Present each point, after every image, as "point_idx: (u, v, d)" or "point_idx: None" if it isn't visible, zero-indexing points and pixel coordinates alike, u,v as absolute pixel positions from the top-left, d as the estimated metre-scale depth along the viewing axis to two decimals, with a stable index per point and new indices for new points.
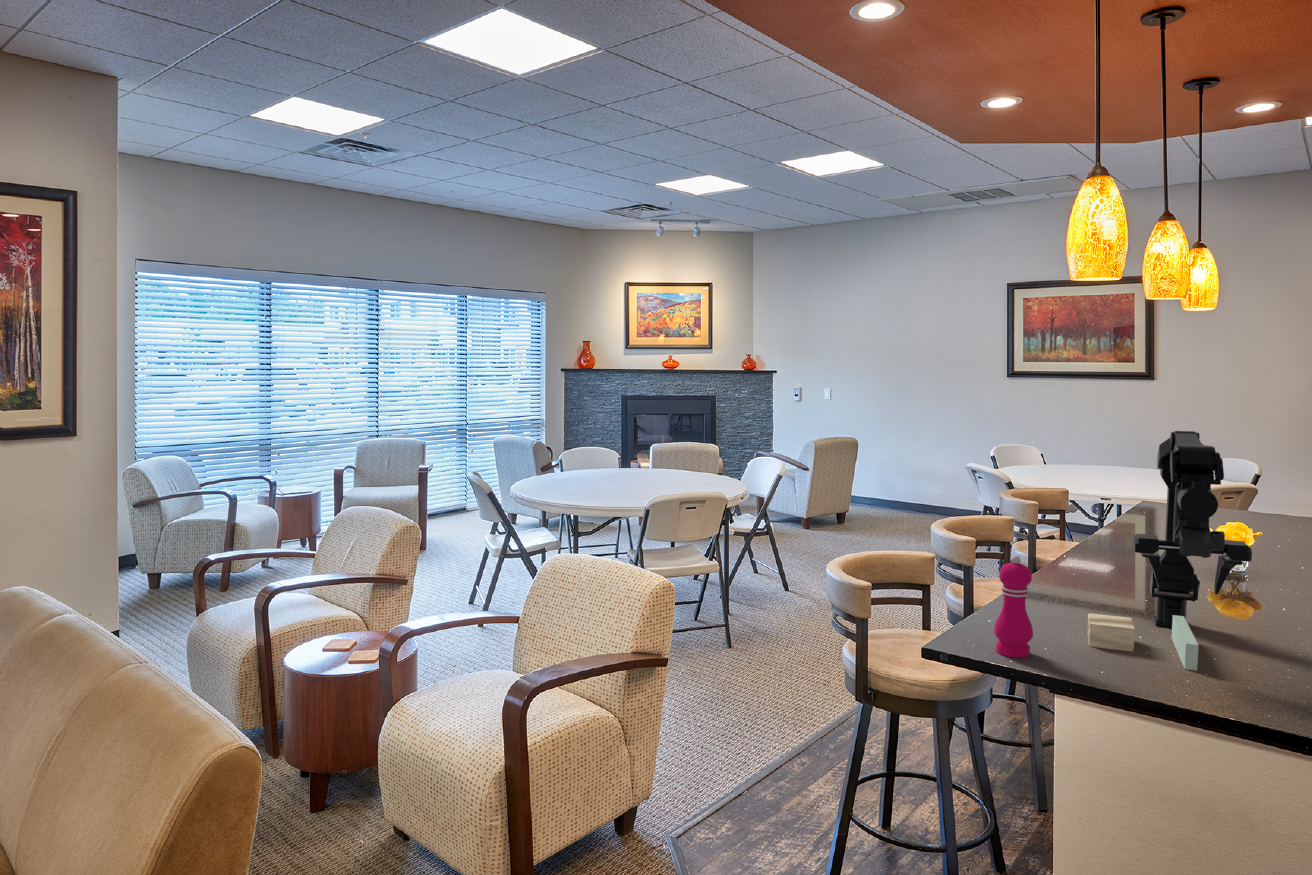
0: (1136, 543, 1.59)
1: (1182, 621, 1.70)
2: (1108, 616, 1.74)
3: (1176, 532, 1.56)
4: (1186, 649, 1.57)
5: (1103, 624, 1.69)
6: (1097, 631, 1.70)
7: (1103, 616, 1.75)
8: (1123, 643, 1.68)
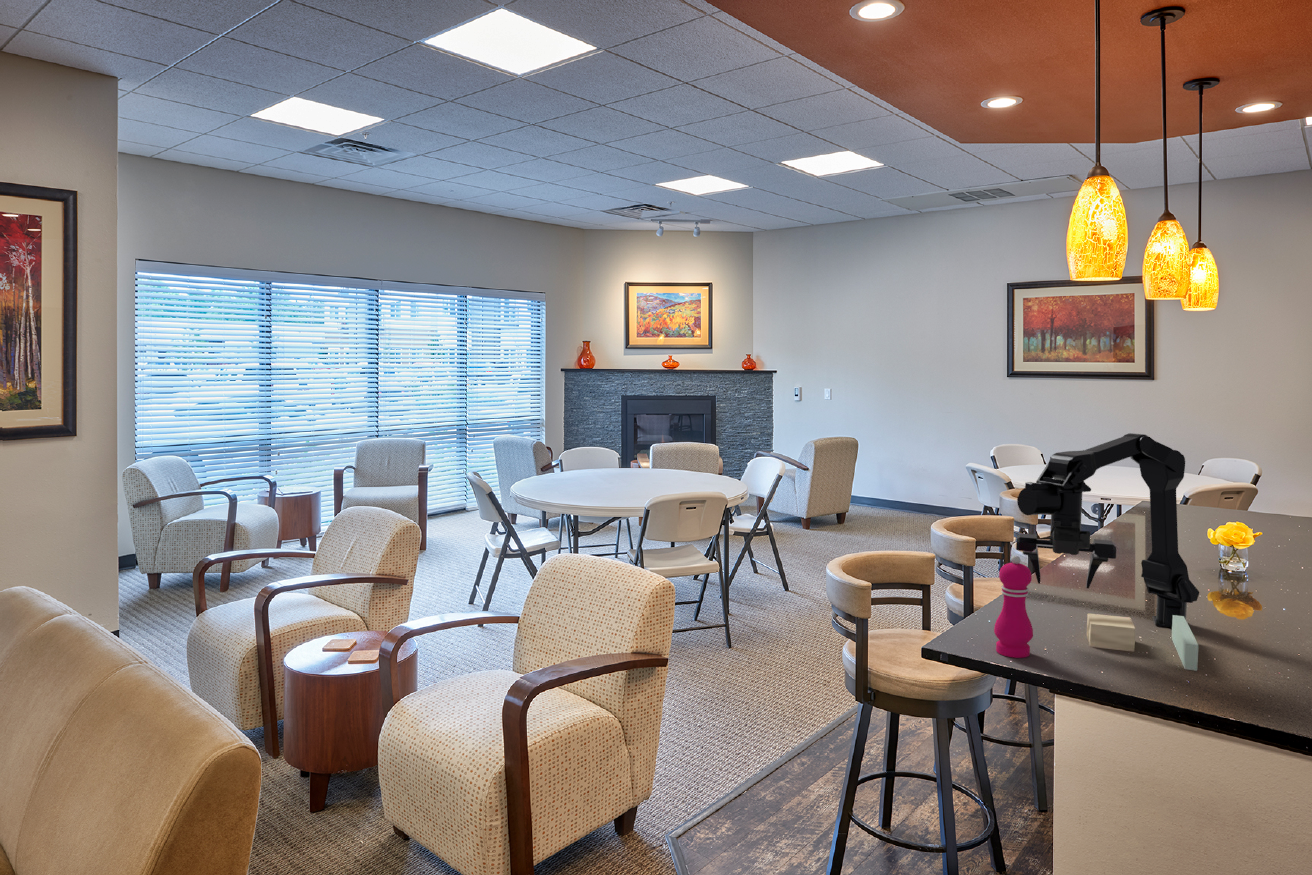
0: (1017, 542, 1.76)
1: (1182, 621, 1.70)
2: (1108, 616, 1.74)
3: (1051, 532, 1.72)
4: (1186, 649, 1.57)
5: (1104, 624, 1.69)
6: (1098, 631, 1.69)
7: (1102, 616, 1.75)
8: (1124, 643, 1.68)
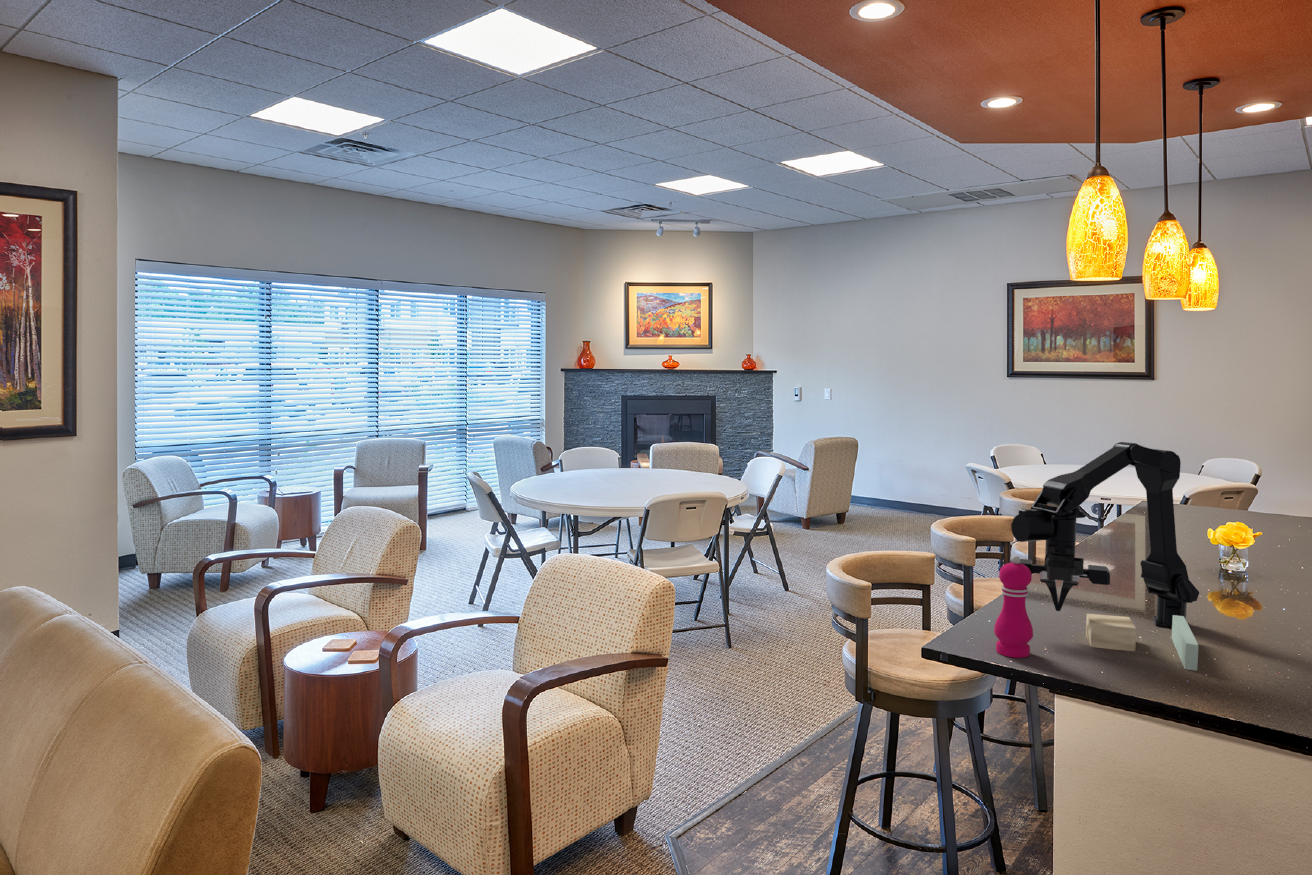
0: None
1: (1182, 621, 1.70)
2: (1107, 616, 1.75)
3: (1045, 558, 1.74)
4: (1186, 649, 1.57)
5: (1105, 624, 1.69)
6: (1099, 631, 1.69)
7: (1101, 616, 1.75)
8: (1125, 643, 1.68)
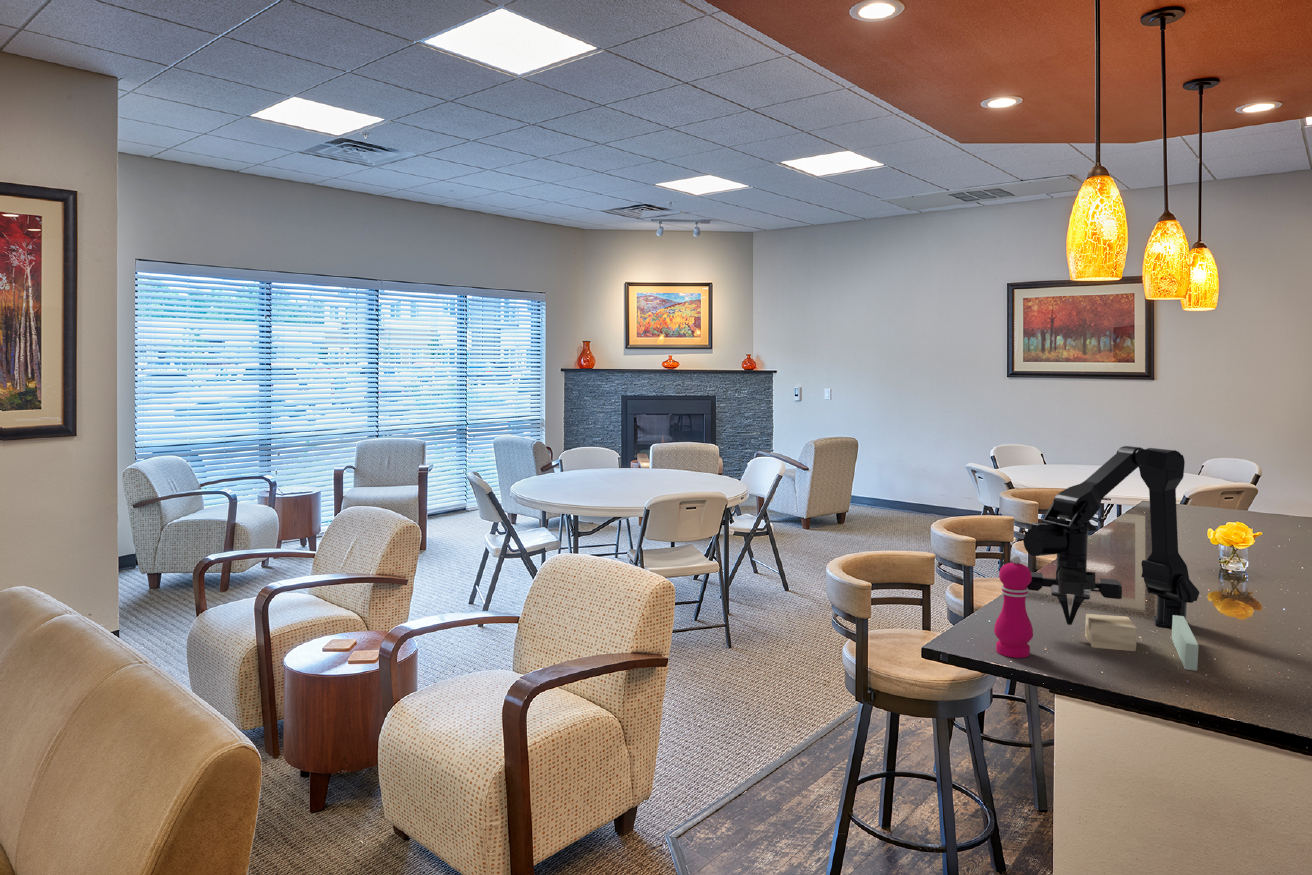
0: None
1: (1182, 621, 1.70)
2: (1106, 616, 1.75)
3: (1057, 571, 1.73)
4: (1186, 649, 1.57)
5: (1106, 624, 1.69)
6: (1100, 631, 1.69)
7: (1101, 616, 1.75)
8: (1126, 643, 1.68)
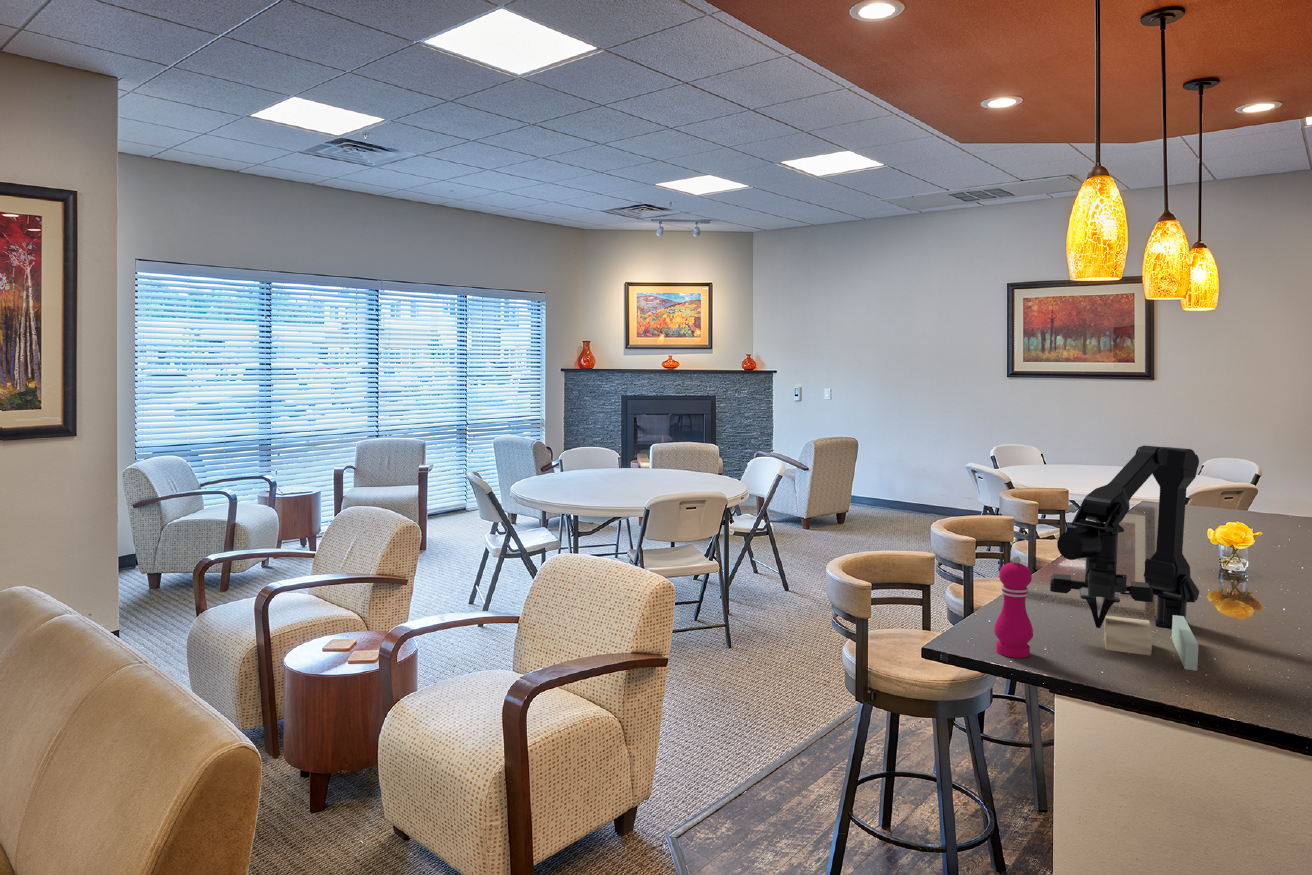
0: (1051, 583, 1.74)
1: (1182, 621, 1.70)
2: (1125, 619, 1.72)
3: (1086, 574, 1.70)
4: (1186, 649, 1.57)
5: (1120, 626, 1.67)
6: (1114, 633, 1.67)
7: (1120, 618, 1.73)
8: (1141, 646, 1.65)
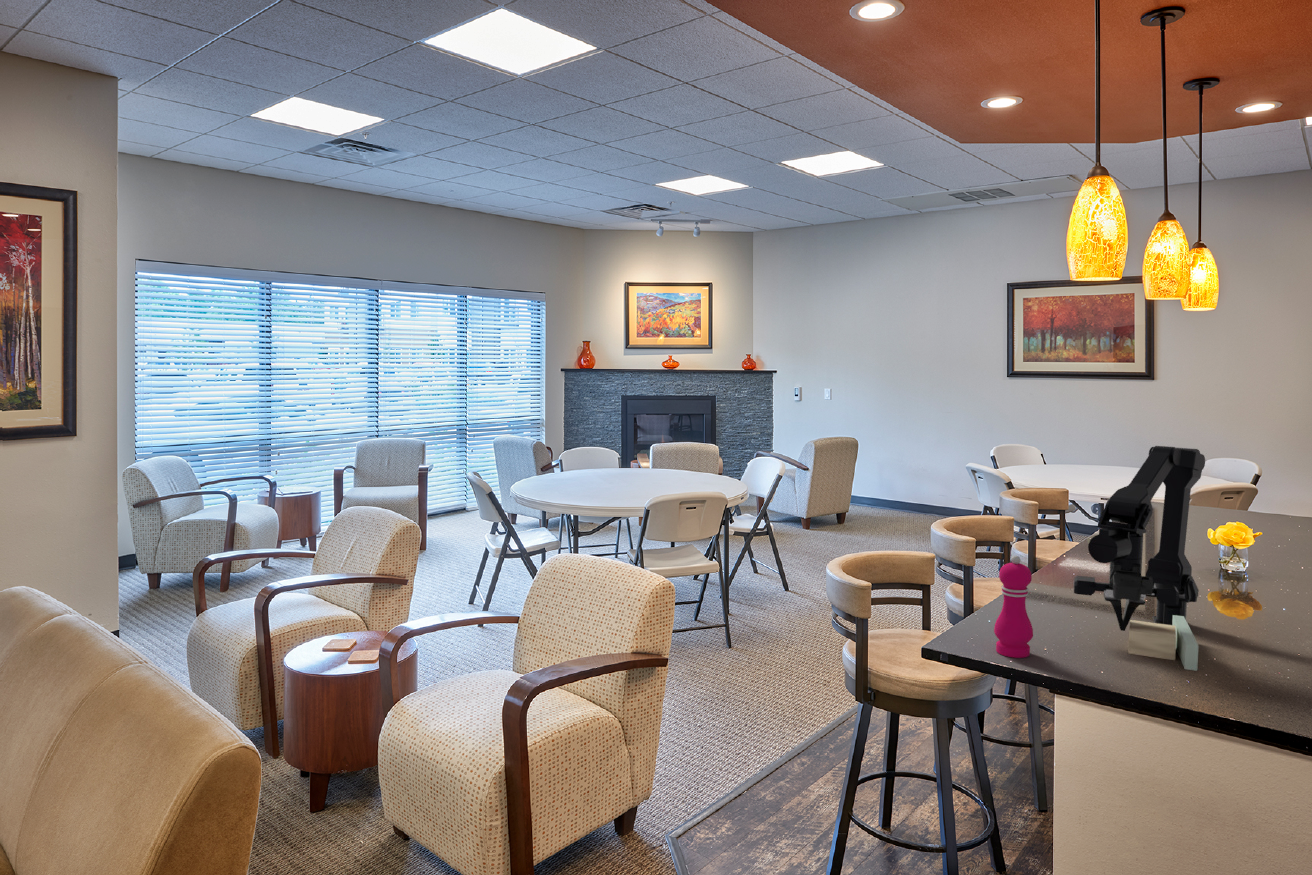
0: (1075, 585, 1.72)
1: (1182, 621, 1.70)
2: (1150, 624, 1.70)
3: (1111, 576, 1.68)
4: (1186, 649, 1.57)
5: (1143, 631, 1.65)
6: (1137, 638, 1.65)
7: (1145, 623, 1.70)
8: (1164, 651, 1.63)
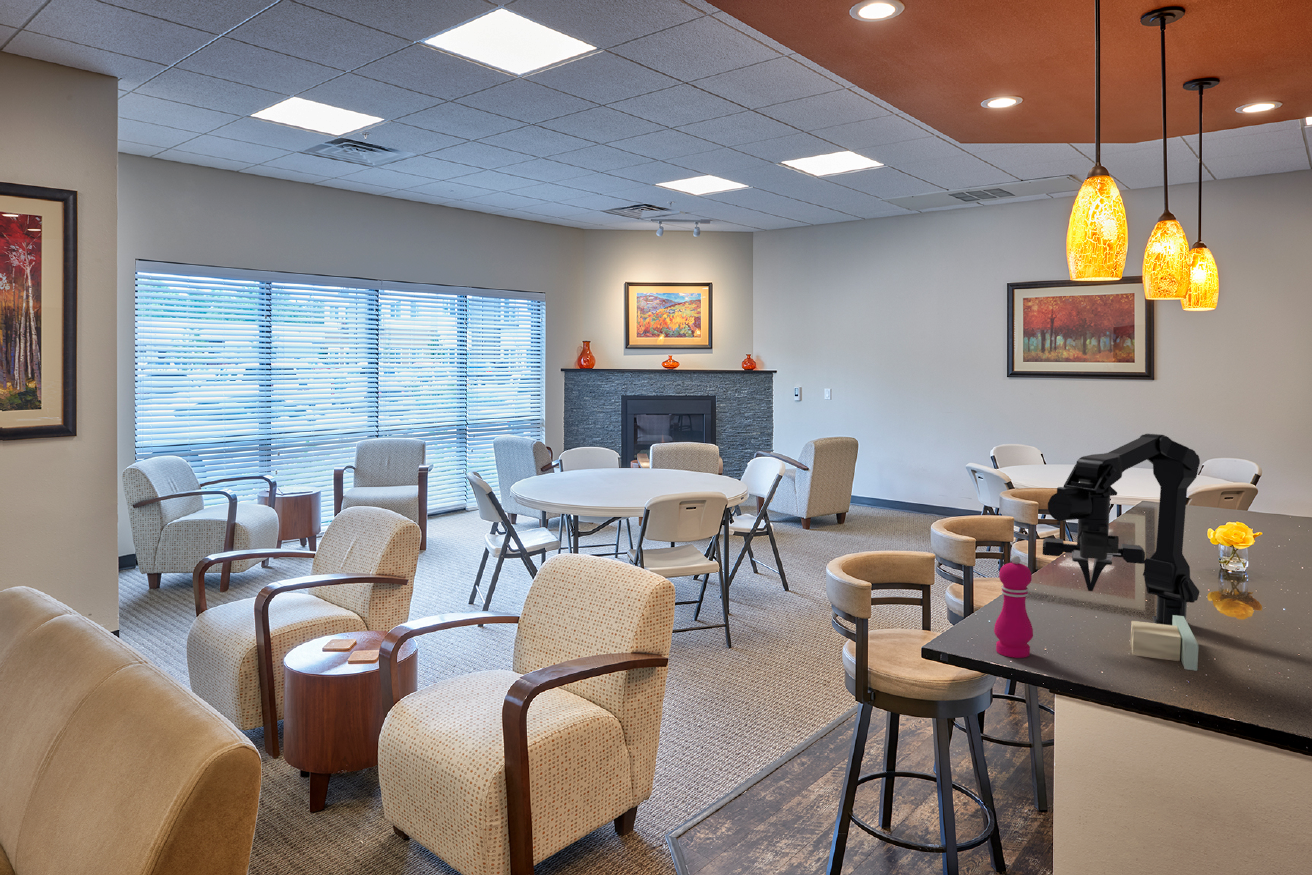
0: (1043, 546, 1.74)
1: (1182, 621, 1.70)
2: (1153, 624, 1.69)
3: (1078, 536, 1.70)
4: (1186, 649, 1.57)
5: (1148, 632, 1.64)
6: (1141, 639, 1.64)
7: (1147, 624, 1.69)
8: (1169, 652, 1.62)
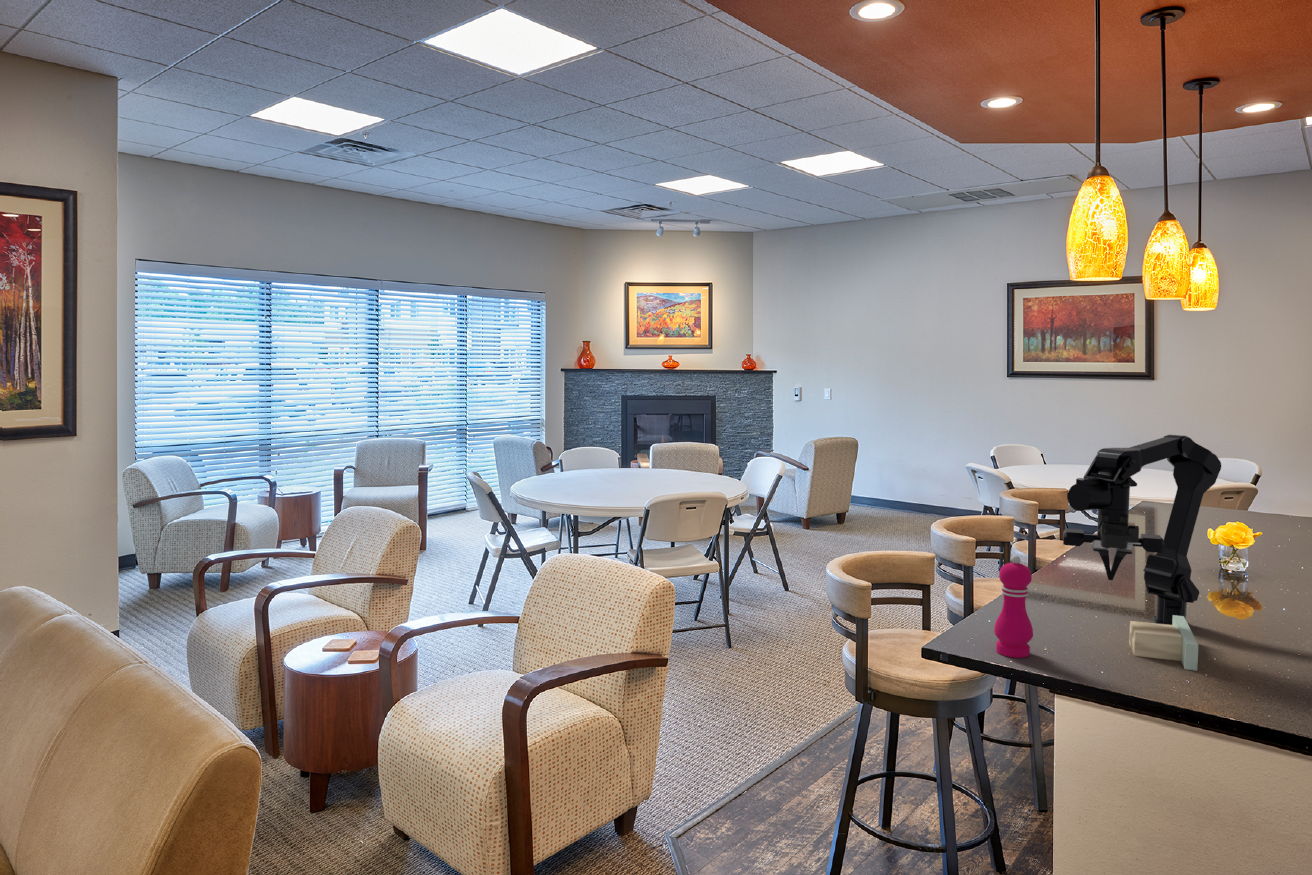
0: (1064, 536, 1.77)
1: (1182, 621, 1.70)
2: (1151, 624, 1.69)
3: (1099, 526, 1.74)
4: (1186, 649, 1.57)
5: (1149, 632, 1.64)
6: (1143, 639, 1.64)
7: (1146, 624, 1.69)
8: (1170, 652, 1.62)
